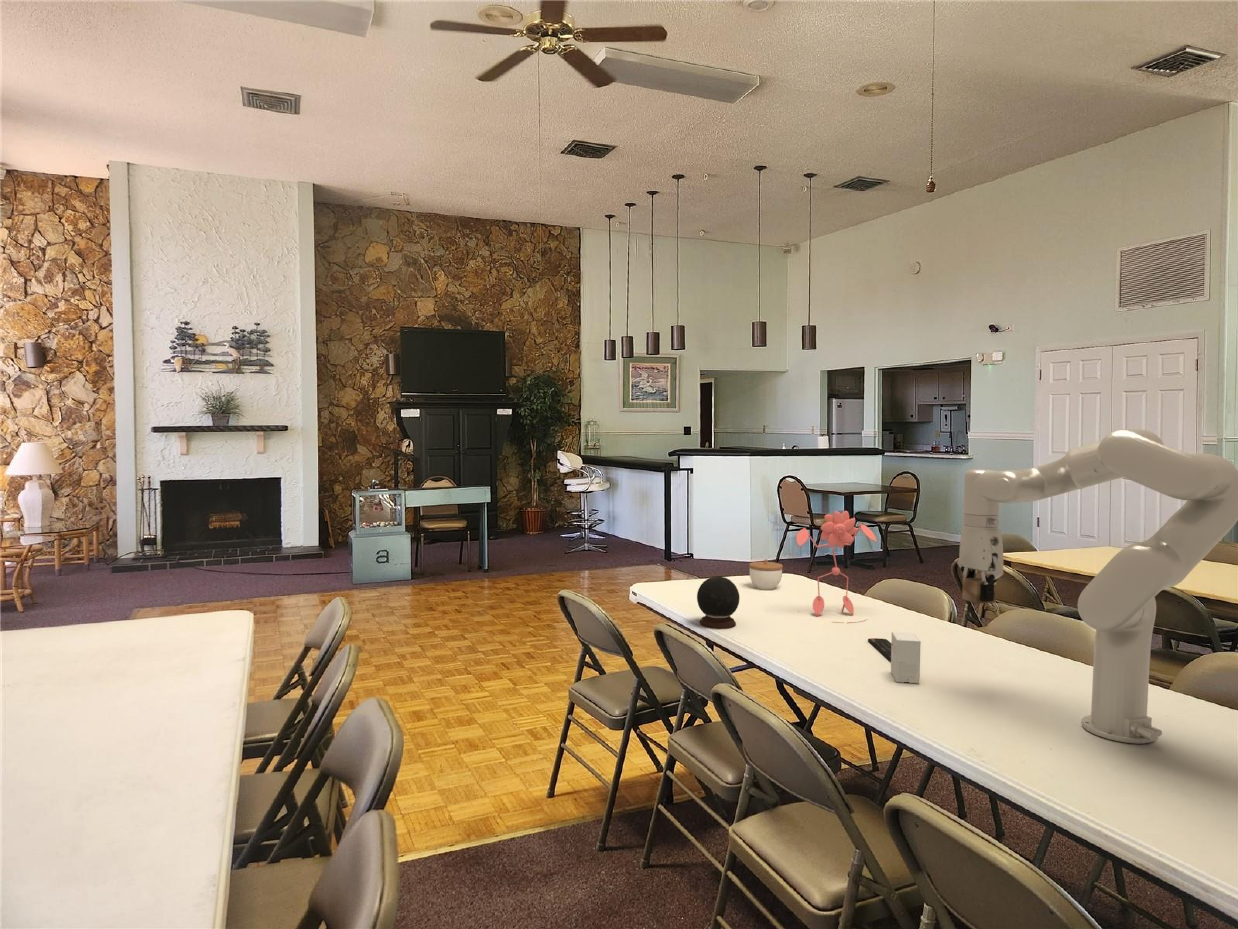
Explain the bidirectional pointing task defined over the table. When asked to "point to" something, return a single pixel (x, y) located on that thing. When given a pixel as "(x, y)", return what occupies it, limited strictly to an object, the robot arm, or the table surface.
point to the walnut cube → (973, 590)
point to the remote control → (882, 646)
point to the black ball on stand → (718, 602)
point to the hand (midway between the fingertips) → (978, 597)
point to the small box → (905, 657)
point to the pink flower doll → (837, 534)
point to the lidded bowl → (765, 574)
